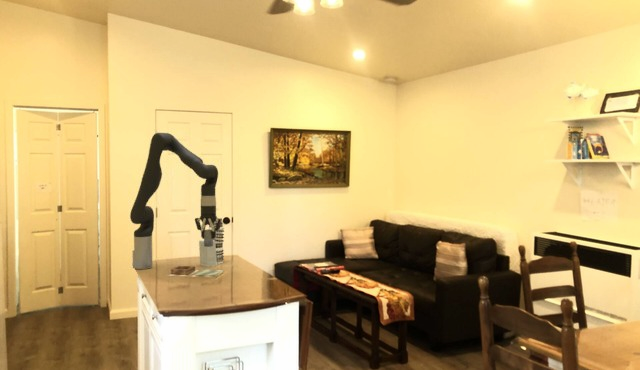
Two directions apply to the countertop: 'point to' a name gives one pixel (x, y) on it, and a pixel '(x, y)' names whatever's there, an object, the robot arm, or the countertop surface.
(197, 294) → the countertop surface
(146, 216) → the robot arm
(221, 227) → the decorative candle
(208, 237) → the end cover
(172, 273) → the caddy
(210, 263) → the skincare box
